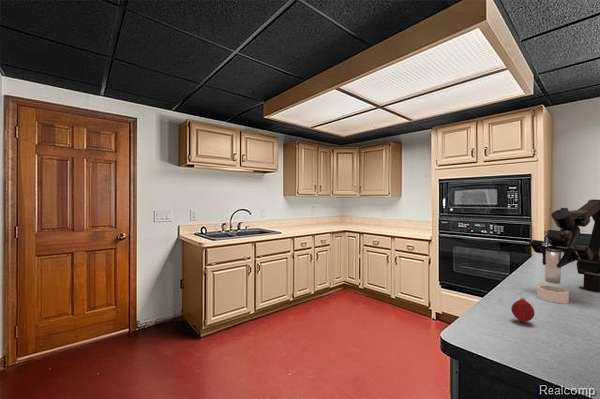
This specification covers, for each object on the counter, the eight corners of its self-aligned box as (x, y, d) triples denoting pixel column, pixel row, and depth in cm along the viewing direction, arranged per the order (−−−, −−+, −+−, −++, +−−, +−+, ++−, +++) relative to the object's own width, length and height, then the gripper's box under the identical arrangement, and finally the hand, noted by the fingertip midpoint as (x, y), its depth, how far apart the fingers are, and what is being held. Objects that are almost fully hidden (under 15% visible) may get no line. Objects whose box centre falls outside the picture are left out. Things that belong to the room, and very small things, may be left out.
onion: (539, 326, 90) (539, 300, 89) (520, 326, 90) (520, 300, 90) (524, 318, 95) (525, 294, 95) (507, 318, 95) (507, 294, 95)
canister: (546, 279, 118) (547, 247, 118) (562, 282, 115) (562, 249, 114) (543, 281, 115) (543, 248, 115) (559, 284, 112) (559, 250, 111)
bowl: (547, 294, 121) (547, 284, 121) (574, 301, 112) (574, 291, 112) (531, 296, 118) (531, 286, 118) (558, 304, 109) (558, 293, 109)
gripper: (532, 220, 125) (516, 248, 120) (590, 225, 108) (573, 256, 103) (542, 238, 128) (527, 265, 124) (600, 244, 111) (584, 276, 107)
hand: (551, 265), depth 114 cm, fingers closed on canister, 5 cm apart
